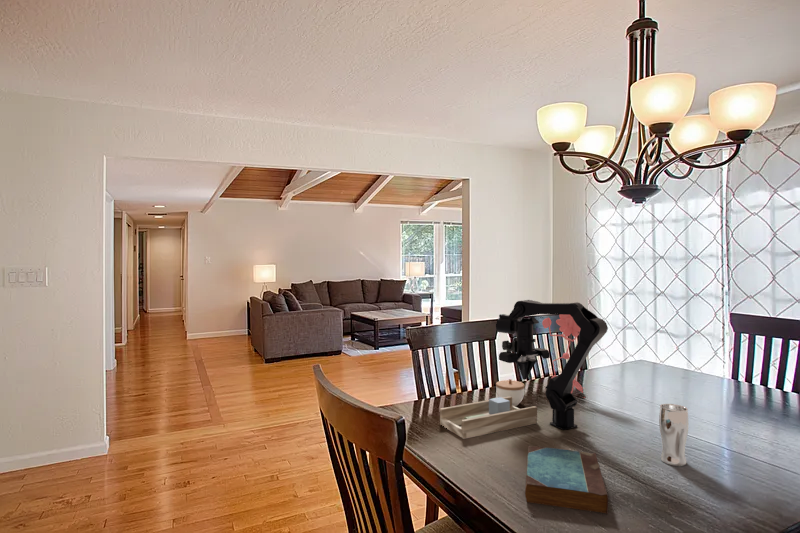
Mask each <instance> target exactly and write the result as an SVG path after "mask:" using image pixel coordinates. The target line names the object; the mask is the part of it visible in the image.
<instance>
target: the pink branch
mask: <svg viewBox="0 0 800 533" xmlns="http://www.w3.org/2000/svg"><path fill="white" fill-rule="evenodd" d="M558 315H559V318H558V319H556V321H555V323H556V324H557V325H558V326H559V331H560V332H561V333H562V334H552V330H551V325H552V319H551V318H550V317H546V318H544V319H543V320H542V322H541V324H542V326H543V329H547V328H548V331H549V336H550V337H561V338H564V339H565V340H567V342H568V345H567V349H566V352H563V353H562V356H561V357H558V358H555V359H553V360H552V366H553V373H554V375H552V376H551V378H553V377H556V376H557V375H556V370H555V364H554V363H555V362H556V361H558V360H560V359H564V360H569V358H570V356H571V355H570V353H568V352H569V349H570V346H571V342H575V340H576V339H577V338H578V337H579V333H580V329H581V328H580V327H579V326H578V325H577V324H576V322H575V321H574V319H573V318H572V316H571V315H563V314H558ZM571 335H572V336H573V337H574V338H573V339H571V338H570V337H569V336H571ZM574 388H576V389H577V390H578V391H579V392H580V393H582V394H583V393H584V387H582V385H581V384H580V382H578V381H577V375H576V376H575V378H574V380H573V387H572V391H571V393H572V394H573V392H574ZM582 398H583V399H584V398H587V397H586V396H584V397H583V396H582Z"/></svg>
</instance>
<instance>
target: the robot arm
mask: <svg viewBox="0 0 800 533" xmlns="http://www.w3.org/2000/svg"><path fill="white" fill-rule="evenodd" d="M559 314H563V315H571V316H572V318H573V319H574V321H575V322H576V324H577V325H578V326H579V327H580V328H581V329H580V333H579V332H578V333H579V335H578V342H577V344H576V345H575V347H574V349H573V351H572V352H571V355H569V356H570V358H569V359H567V362H566V364H565V365H564V367H563V369H562V371H561V372H560V374H559V375H556V377H553V378H552V377H550V379H549V381H548V384H547V385H546V386H545V387H544V389H546V390H545V397H546V399H547V401H548V403H549V406H550V409H551V410H552V421H551V422H549V425H552V426H553V427H556V428H558V429H560V430H563V431H565V430H570V429H574V428H578V425H577V424H575V409H574V407H576V406H577V404H578V399H577V398H576V397H575V396H574V394H573V392H572V393H571V391H572V387H573V380H575V376H576V377H577V374H578V373H579V371H580V369H581V368H582V366H583V364H584V363H585V360H586V359H587V357H588V355H590V351H591V350H592V349H593V347H594V346H595V345H596V344H597V343H598V342H599V341H601V339H602V338H603V337H604V336H605V335H606V333H607V332H608V329H609V327H608V324H607V322H606V321H605V320H604V319H603V318H599V317H598V316H597V315H596V314H595V313H593V312H592V311H590V310H589V309H588V308H586V307H585V306H584V305H583V304H582V303H580V302H578V301H577V302H540V301H536V300H532V299H526V300H525V299H524V300H517V301H516V302H515V303H514V305H513V309H512V310H511V312H510V313H509V314H504V313H503V314H499V315H498V318H497V320H496V323H495V328H496V329H495V330H496V331H497V332H498V333H500V334H501V333H503V334H507V335H508V334H510V335H514V334H515V333H516V335H515V336H516V337H513V341H511V342H510V341H509V340H503V341H502V342H501V343H502V344H501V347H502V350H503V351H500V352H499V354H498V360H499V361H501V362H503V363H507V364H512V363H515V364H516V366H517V367H518V369H519V371H520V375H521V377H522V379H523V380H527V379H528V377H529V375H530V374H531V371H532V369H533V368H534V366H535V364H536V363H537V362H538V361H539V360H537V359H536V357H541V358H542V359H543V360H544V359H545V360H546V359H550V358H551V353H550V351H549V349H546V348H543V347H535V348H534V343H536V339H535V338H534V325H536V324H539V323H540V321H539V320H538V319H537V318H535V315H559ZM530 316H531V317H530ZM527 317H528V318H527ZM529 317H530V318H529Z"/></svg>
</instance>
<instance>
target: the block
mask: <svg viewBox="0 0 800 533" xmlns="http://www.w3.org/2000/svg"><path fill="white" fill-rule="evenodd" d="M488 400H489V414H496V413H501V412H507V411H510V401H509V400H506V399H504V398H501V397H498V396H497V397H494V398H488Z"/></svg>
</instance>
